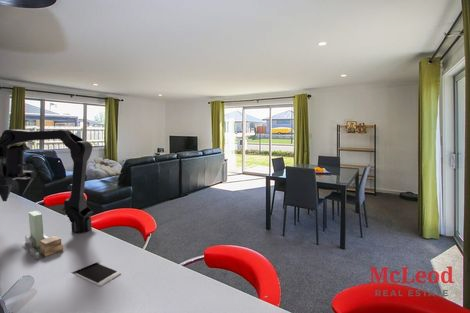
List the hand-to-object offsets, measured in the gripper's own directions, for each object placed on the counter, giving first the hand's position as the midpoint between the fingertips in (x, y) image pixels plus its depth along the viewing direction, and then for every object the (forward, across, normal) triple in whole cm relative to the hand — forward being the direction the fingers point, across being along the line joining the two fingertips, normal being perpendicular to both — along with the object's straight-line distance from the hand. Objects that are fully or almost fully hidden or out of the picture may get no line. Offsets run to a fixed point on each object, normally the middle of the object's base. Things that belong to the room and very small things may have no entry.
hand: (13, 198), depth 100 cm
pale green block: (+14, +11, +16) cm, 24 cm away
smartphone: (+14, +32, +44) cm, 56 cm away
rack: (+15, +14, +19) cm, 28 cm away
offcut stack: (+14, +17, +24) cm, 32 cm away
